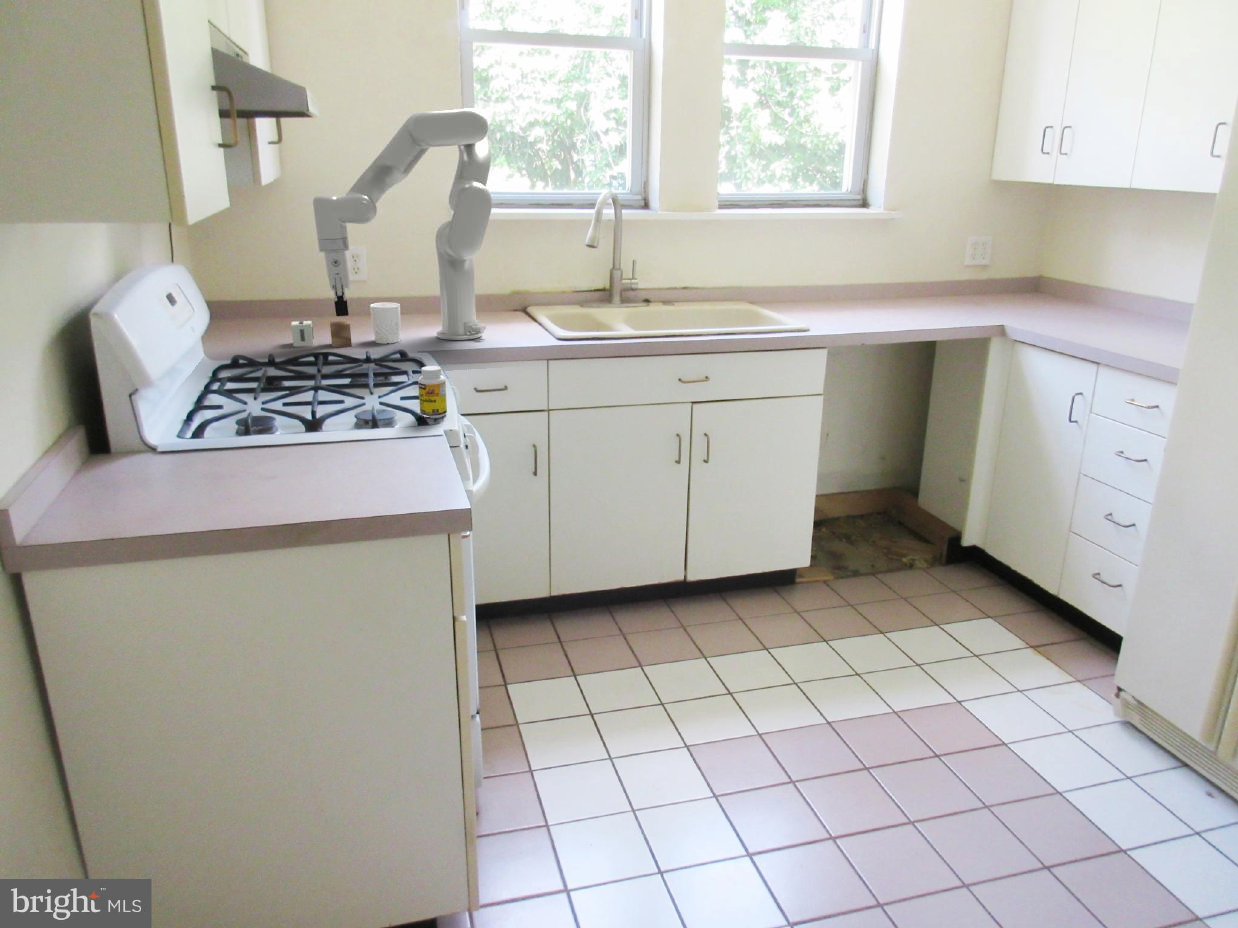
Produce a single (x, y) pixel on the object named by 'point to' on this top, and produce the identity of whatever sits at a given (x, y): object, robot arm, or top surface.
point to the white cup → (386, 322)
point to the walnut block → (340, 333)
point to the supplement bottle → (432, 392)
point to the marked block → (302, 333)
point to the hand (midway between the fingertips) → (342, 315)
